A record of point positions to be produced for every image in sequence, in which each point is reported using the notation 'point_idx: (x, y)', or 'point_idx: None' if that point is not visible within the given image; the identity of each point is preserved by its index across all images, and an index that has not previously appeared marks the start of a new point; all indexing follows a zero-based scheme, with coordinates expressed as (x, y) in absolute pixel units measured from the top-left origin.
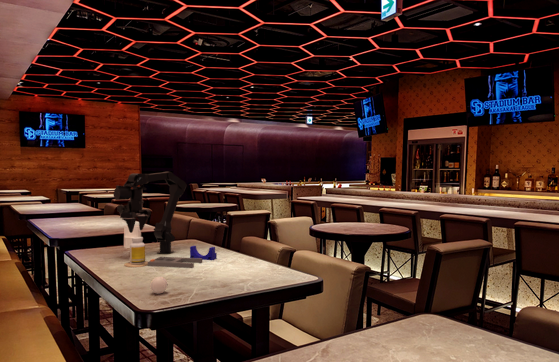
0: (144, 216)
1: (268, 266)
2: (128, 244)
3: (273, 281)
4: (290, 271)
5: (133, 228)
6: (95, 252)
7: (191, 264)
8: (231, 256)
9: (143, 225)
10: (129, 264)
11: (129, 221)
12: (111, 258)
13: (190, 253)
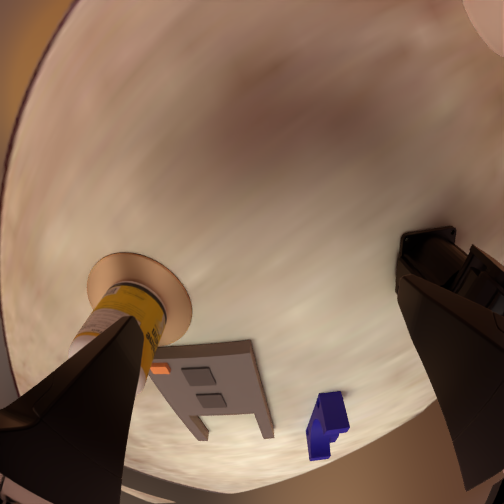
0: (487, 474)
1: (276, 476)
2: (478, 5)
3: (191, 481)
4: (253, 486)
5: (132, 391)
6: None
7: (197, 438)
8: (364, 431)
9: (423, 364)
10: (105, 287)
11: (47, 448)
12: (188, 59)
13: (321, 409)
